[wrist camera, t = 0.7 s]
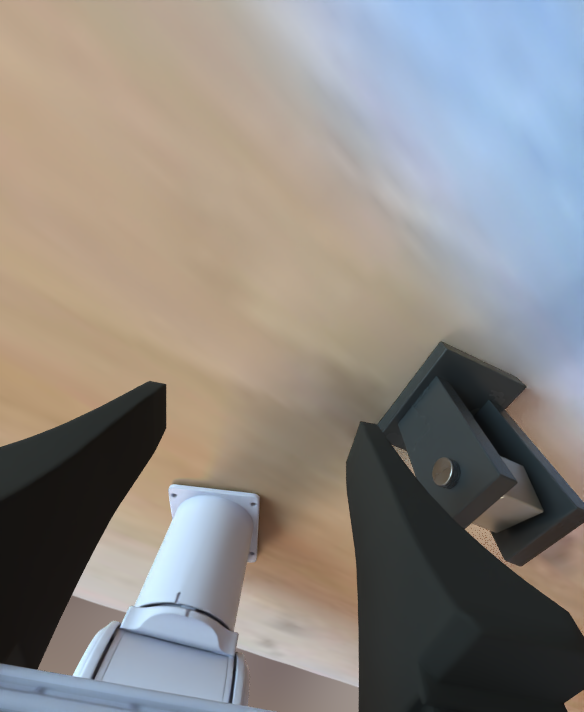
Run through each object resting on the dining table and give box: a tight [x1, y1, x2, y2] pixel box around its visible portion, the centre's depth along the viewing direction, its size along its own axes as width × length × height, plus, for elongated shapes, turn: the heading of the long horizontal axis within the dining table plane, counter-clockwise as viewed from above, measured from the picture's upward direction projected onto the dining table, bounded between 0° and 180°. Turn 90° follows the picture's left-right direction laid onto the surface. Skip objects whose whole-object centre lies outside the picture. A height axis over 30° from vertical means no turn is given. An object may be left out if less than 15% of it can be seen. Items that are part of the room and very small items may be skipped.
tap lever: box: [472, 456, 544, 533], centre depth 19 cm, size 12×3×3 cm, turn 155°
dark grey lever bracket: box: [378, 342, 584, 566], centre depth 19 cm, size 8×6×9 cm
